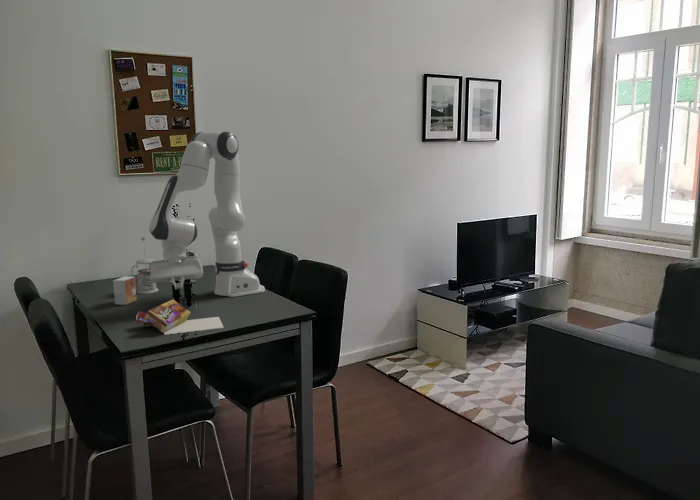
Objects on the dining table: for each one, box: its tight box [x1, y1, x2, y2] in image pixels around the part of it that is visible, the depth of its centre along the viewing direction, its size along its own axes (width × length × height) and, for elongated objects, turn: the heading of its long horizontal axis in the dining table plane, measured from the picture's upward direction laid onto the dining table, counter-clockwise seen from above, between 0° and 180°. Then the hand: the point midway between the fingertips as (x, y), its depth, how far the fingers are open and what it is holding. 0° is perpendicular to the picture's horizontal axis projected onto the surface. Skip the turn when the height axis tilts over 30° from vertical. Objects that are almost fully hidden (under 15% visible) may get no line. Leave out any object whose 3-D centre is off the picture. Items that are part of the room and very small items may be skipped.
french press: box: [130, 236, 159, 295], centre depth 260 cm, size 10×12×25 cm
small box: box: [112, 276, 138, 306], centre depth 242 cm, size 8×6×10 cm
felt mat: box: [163, 316, 225, 336], centre depth 209 cm, size 20×14×1 cm
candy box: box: [144, 299, 191, 334], centre depth 208 cm, size 9×4×15 cm
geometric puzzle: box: [135, 308, 155, 330], centre depth 208 cm, size 7×7×8 cm
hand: (178, 288), depth 224 cm, fingers closed
